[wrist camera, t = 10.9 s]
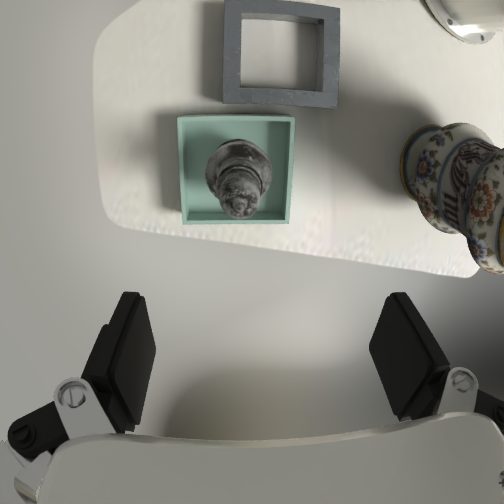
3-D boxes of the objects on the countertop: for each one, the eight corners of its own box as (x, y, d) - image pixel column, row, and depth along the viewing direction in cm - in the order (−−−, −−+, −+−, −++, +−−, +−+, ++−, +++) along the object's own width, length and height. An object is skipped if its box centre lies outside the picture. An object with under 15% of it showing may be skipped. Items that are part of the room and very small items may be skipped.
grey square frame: (332, 14, 23) (339, 8, 20) (329, 107, 28) (337, 109, 25) (225, 6, 22) (224, -2, 20) (223, 103, 27) (222, 103, 25)
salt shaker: (228, 203, 31) (225, 265, 21) (196, 155, 29) (174, 194, 18) (278, 175, 30) (303, 224, 20) (249, 124, 27) (258, 144, 17)
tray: (289, 115, 28) (295, 117, 25) (284, 212, 33) (288, 223, 30) (182, 115, 27) (177, 117, 25) (187, 213, 32) (182, 224, 30)
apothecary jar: (449, 221, 34) (537, 301, 19) (377, 198, 33) (473, 292, 17) (478, 137, 29) (586, 187, 13) (407, 99, 27) (536, 129, 11)
